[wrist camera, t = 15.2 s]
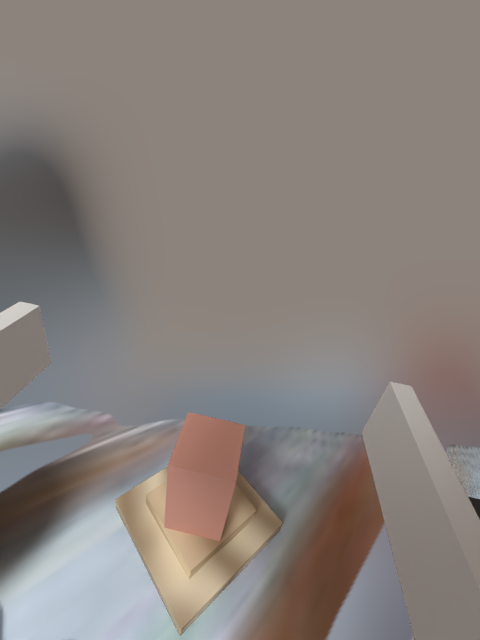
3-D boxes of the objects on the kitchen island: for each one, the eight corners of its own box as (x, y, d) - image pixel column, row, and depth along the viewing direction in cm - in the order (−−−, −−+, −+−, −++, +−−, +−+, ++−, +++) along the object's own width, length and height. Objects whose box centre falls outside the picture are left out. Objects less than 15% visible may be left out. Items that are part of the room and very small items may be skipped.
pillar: (229, 485, 36) (245, 425, 31) (220, 541, 31) (236, 481, 26) (181, 474, 37) (188, 412, 31) (164, 527, 31) (167, 464, 26)
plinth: (209, 448, 45) (213, 430, 43) (279, 531, 37) (286, 514, 35) (116, 508, 36) (114, 489, 34) (180, 635, 28) (182, 621, 26)
